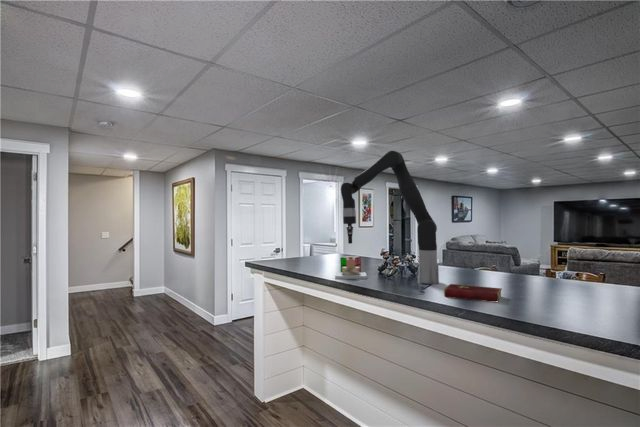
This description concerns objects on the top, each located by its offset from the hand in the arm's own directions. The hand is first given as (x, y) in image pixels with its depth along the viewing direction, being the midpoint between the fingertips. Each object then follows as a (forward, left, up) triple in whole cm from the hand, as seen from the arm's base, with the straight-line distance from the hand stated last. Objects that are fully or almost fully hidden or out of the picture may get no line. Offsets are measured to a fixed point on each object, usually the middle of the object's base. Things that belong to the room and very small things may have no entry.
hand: (350, 243), depth 201 cm
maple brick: (0, 0, -18) cm, 18 cm away
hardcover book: (-52, +51, -21) cm, 76 cm away
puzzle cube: (0, -17, -20) cm, 26 cm away
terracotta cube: (0, 0, -14) cm, 14 cm away
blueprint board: (0, 0, -20) cm, 20 cm away
